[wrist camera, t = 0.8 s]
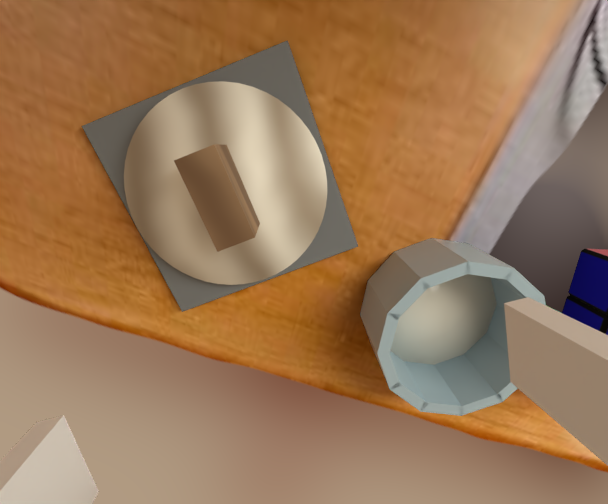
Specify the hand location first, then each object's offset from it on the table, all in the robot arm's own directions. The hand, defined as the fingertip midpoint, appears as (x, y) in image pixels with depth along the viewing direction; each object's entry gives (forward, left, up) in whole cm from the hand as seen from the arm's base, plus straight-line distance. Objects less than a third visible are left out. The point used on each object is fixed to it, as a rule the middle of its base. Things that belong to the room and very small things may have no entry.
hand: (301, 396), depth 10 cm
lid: (+4, -5, -22) cm, 23 cm away
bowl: (-10, +13, -23) cm, 28 cm away
